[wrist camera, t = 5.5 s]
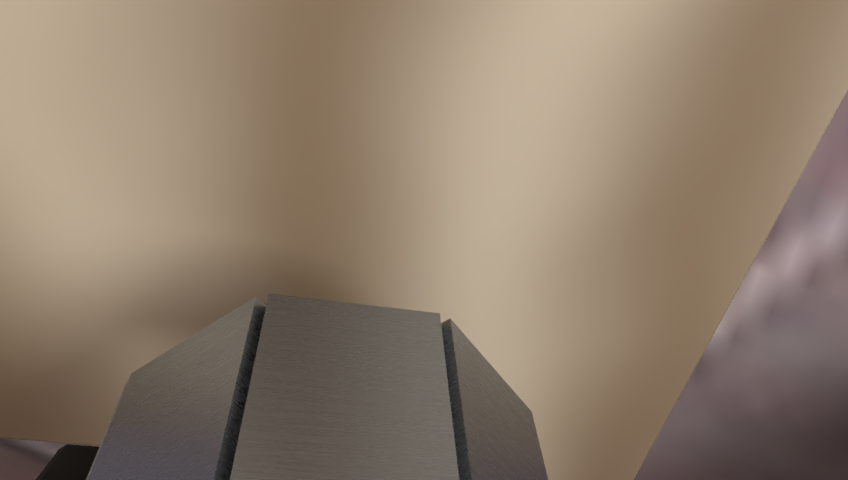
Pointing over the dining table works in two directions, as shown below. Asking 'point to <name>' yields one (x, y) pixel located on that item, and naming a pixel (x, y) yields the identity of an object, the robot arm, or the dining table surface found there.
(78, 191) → the board
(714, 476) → the dining table surface
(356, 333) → the ring hub
